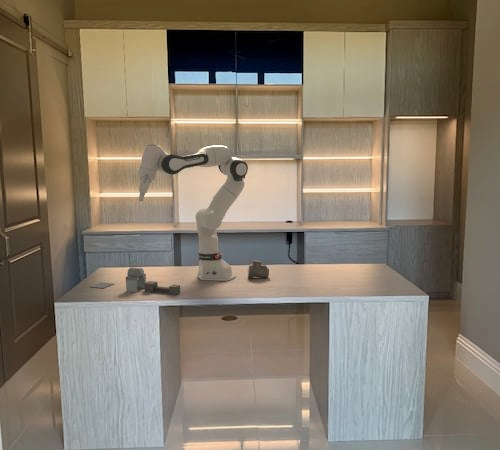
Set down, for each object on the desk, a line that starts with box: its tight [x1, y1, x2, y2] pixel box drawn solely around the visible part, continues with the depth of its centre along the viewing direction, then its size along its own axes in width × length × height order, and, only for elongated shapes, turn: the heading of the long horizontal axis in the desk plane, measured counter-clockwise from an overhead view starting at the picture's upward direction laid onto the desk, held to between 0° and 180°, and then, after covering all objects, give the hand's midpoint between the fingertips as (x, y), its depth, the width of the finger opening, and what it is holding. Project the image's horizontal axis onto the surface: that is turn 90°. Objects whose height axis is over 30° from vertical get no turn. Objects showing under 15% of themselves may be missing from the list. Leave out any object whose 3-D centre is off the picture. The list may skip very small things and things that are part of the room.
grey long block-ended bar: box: [143, 280, 181, 296], centre depth 225 cm, size 20×4×4 cm, turn 69°
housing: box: [125, 266, 147, 293], centre depth 230 cm, size 6×9×12 cm, turn 159°
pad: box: [89, 282, 115, 290], centre depth 238 cm, size 9×9×1 cm
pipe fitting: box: [247, 260, 270, 279], centre depth 251 cm, size 12×8×10 cm
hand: (140, 201), depth 228 cm, fingers open, 8 cm apart
